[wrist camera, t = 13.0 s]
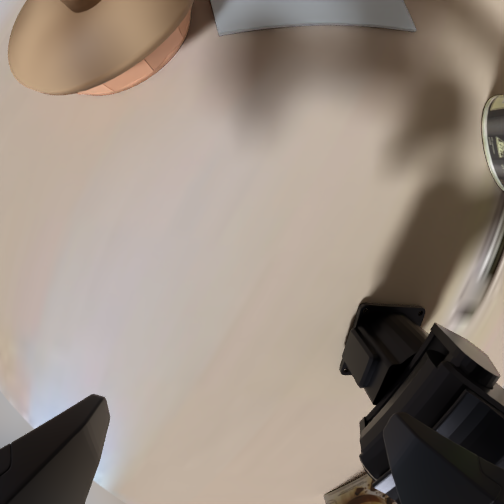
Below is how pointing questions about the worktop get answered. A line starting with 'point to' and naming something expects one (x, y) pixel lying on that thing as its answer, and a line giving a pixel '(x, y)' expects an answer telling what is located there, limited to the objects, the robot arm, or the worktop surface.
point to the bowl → (145, 63)
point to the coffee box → (358, 493)
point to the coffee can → (494, 137)
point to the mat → (309, 14)
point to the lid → (87, 40)
